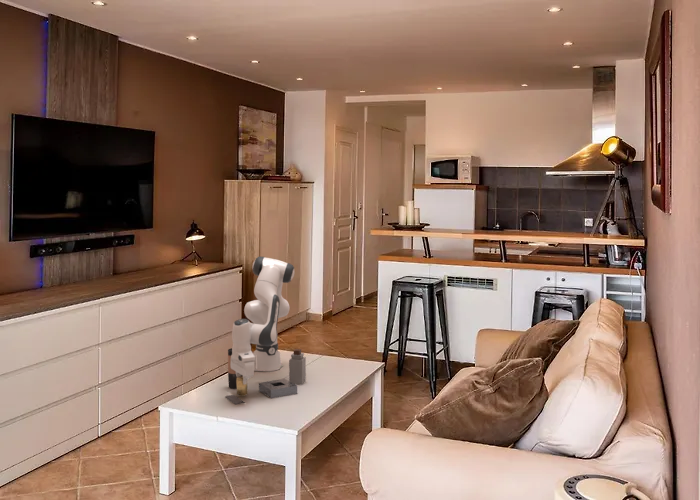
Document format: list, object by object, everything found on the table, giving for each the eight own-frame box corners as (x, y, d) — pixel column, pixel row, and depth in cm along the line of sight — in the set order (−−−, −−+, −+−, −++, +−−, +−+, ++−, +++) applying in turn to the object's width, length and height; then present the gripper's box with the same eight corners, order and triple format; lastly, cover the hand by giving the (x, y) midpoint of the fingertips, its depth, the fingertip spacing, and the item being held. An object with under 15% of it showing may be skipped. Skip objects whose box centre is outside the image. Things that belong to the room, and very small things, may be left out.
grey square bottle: (302, 386, 339) (302, 351, 338) (289, 385, 341) (289, 351, 339) (305, 382, 346) (305, 348, 344) (293, 382, 347) (292, 348, 346)
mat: (225, 397, 320) (225, 396, 320) (248, 393, 327) (248, 392, 327) (235, 404, 310) (235, 402, 310) (258, 400, 317) (258, 398, 317)
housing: (258, 392, 329) (258, 382, 328) (284, 388, 336) (284, 378, 336) (271, 400, 317) (271, 390, 316) (297, 395, 324) (297, 385, 324)
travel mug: (246, 387, 337) (246, 348, 336) (239, 391, 330) (238, 351, 328) (232, 385, 340) (232, 347, 338) (225, 390, 333) (224, 350, 331)
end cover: (235, 393, 319) (234, 377, 318) (245, 391, 322) (244, 375, 321) (239, 396, 315) (238, 379, 314) (249, 394, 318) (248, 377, 317)
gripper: (227, 350, 324) (227, 378, 325) (243, 359, 306) (244, 388, 308) (239, 348, 327) (239, 376, 328) (256, 357, 310) (256, 386, 311)
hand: (241, 382), depth 318 cm, fingers closed on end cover, 5 cm apart
